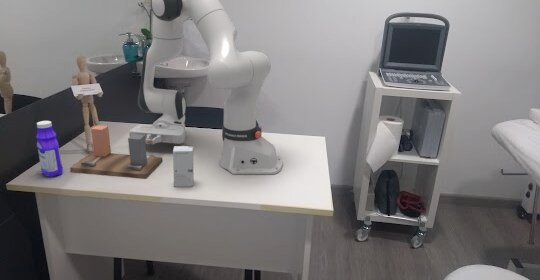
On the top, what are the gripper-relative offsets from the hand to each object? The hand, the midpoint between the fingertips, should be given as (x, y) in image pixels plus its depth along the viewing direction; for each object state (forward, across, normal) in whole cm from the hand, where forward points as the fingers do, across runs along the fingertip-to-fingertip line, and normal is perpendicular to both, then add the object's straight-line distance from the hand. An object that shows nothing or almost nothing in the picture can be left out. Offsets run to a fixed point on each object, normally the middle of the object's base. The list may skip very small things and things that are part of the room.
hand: (149, 142), depth 144 cm
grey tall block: (+10, 0, +4) cm, 11 cm away
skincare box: (+17, +18, +6) cm, 26 cm away
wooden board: (+9, -8, +6) cm, 14 cm away
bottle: (+18, -26, +6) cm, 32 cm away
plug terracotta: (+4, -16, +4) cm, 17 cm away
